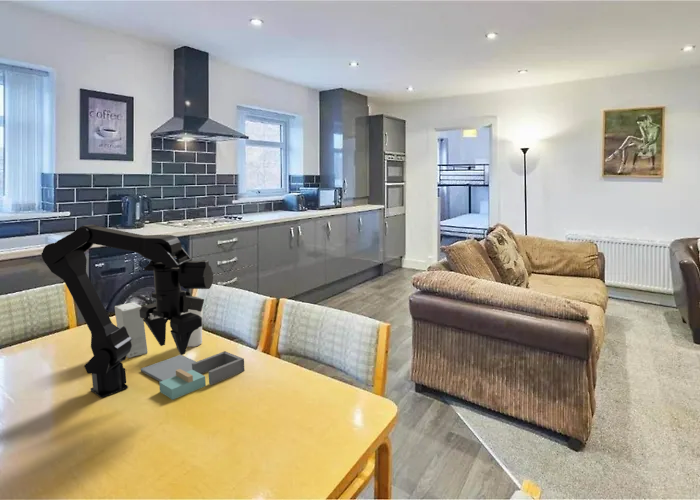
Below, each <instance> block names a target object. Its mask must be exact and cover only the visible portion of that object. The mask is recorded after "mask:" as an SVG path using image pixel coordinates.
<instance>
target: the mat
mask: <svg viewBox="0 0 700 500" xmlns="http://www.w3.org/2000/svg"><path fill="white" fill-rule="evenodd" d="M195 362H197V361H196V360H194V359H192V358H189V357H188V356H184V354H183V355H180V354H178V355H176V356H173V357H170V358H168V359H164V360H162V361H158V362H156V363H153V364H149V365H148V366H147V365H146V366H143V367H141V368H140V372H141V373H143V374H145V375H147V376H149V377H150V378H152V379H154V380H155V381H157V382H161V381H163V380H166V379H169V378H171V377H174V376H176V370H178V369H182V370H183V371H185V372H188V371H190V370H192V363H195Z"/></svg>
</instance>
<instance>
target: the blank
mask: <svg viewBox="0 0 700 500" xmlns="http://www.w3.org/2000/svg"><path fill="white" fill-rule="evenodd" d="M158 382H159V392H160V393H161V394H163V395H164V396H166V397H168V398H169V399H171V400H173V401H174V400H175V399H177V398H178V399H179V398H180V397H183V396H185V395H187V394H191V393H192V392H195V391H197V390H200V389H202V388H204V387H206V375H205V374H204V375H203V374H200V373H198V372H196V371H194V370H190V371H188V372H185V371H183V370H182V369H178V370H176V376H174V377H171V378H169V379H166V380H163V381H161V382H160V381H158Z"/></svg>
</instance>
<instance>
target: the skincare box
mask: <svg viewBox="0 0 700 500" xmlns="http://www.w3.org/2000/svg"><path fill="white" fill-rule="evenodd" d="M142 306H143V305H142ZM142 306H141V305H140V304H138V303H136V302H134V301H133V302H127V303H124V304H123V303H122V304H118V305H114V313H115V321H116V326H117V327H118V328H121V327H123V326H124V327H125V328H126V330H127V333H128V335H129V336H130V337H131V338H132V340H131V344H132V347H131V350H130V352H129V353H128V354H127V356H126V358H127V359H129V358H133V357H138V356H141V355H146V354H148V351H149V350H148V345H147V337H146V336H147V335H146V329H145V322H144V321H143V318H141V317H140V311H139V310H140V309H141V308H142Z"/></svg>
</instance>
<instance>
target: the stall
mask: <svg viewBox="0 0 700 500" xmlns="http://www.w3.org/2000/svg"><path fill="white" fill-rule="evenodd" d="M192 370H194V371H196V372H198V373H200V374H202V375H203V374H206V373H207V374H208V384H209V385H210V386H212V385H215V384H217V383H220V382H221V381H224V380H227V379H229V378H230V377H233V376H235V375H238V374H240V373H242V372H244V371H245V358H243V357H241V356H238V355H235V354H233V353H230V352H228V351H225V350H223V351H222V352H219V353H216V354H213V355H210V356H209V357H208V356H207V357H205V358H203V359H200V360H198V361H196V362H195V363H192Z"/></svg>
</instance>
